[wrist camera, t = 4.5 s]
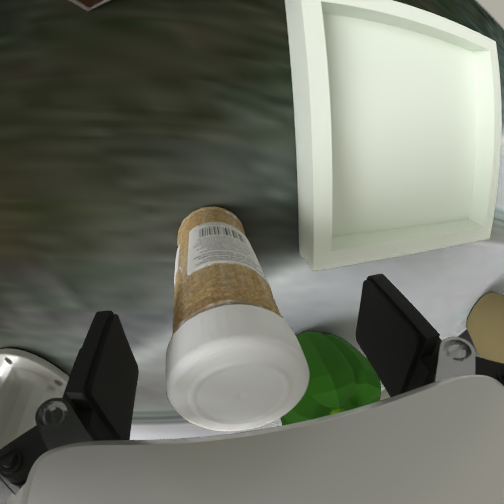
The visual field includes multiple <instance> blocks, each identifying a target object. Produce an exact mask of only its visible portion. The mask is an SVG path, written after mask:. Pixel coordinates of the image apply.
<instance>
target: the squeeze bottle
mask: <svg viewBox="0 0 504 504" xmlns="http://www.w3.org/2000/svg"><path fill="white" fill-rule="evenodd" d="M466 328H467V330H468V332H469V334H470V336H471V339H472V341H473V343H474V345H475V348H476V350H477V352H478V354H479V355H481V356H482V357H483V358H484V359H487V360H491V361H495V362H499V363H503V364H504V295H500V294H496V293H492V292H490V293H487V294H485V295H484V296H483V297H482V298H480V300H479V301H478V302H477V303H476V304H475V306H474V307H473V309H472V311H471V312H470V314H469V317H468V320H467V325H466Z"/></svg>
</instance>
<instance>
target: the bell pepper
mask: <svg viewBox="0 0 504 504" xmlns="http://www.w3.org/2000/svg"><path fill="white" fill-rule="evenodd" d="M296 337H297V340H298V342H299V344H300V346H301V349H302V351H303V353H304V356H305V358H306V361H307V364H308V367H309V383H308V387H307V389H306V391H305V393H304V395H303V397H302V398H301V400H300V401H299V402H298V403H297V405H296V406H295V407H294V408H293V409H291V410H290V411H289V412H288V413H286V414H285V415H284V416H282V417H280V418H281V422H282V425H288V424H293V423H298V422H303V421H307V420H312V419H316V418H320V417H324V416H328V415H332V414H336V413H340V412H344V411H347V410H351V409H355V408H358V407H361V406H365V405H368V404H371V403H375V402H378V401H380V395H381V384H380V378H379V377H378V375H377V373H376V372H375V370H374V368H373V367H372V365H371V363H370V362H369V360H368V359H367V358H366V357H365V356H363V355H362V354H361V353H360V352H359V351H358V350H357V349H356V348H354V347H353V346H352V345H351V344H349V343H348V342H347V341H345V340H344V339H343V338H340V337H337V336H335V335H331V334H324V335H323V334H322V333H319V332H302V333H300V334H298V335H296Z"/></svg>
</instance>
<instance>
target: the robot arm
mask: <svg viewBox="0 0 504 504" xmlns="http://www.w3.org/2000/svg"><path fill="white" fill-rule="evenodd" d="M439 336H440V334H439V333H438V332H437V331H436V330H435V329H434V328H433V327H432V325H431V324H430V323H429V322H428V321H427V320H426V319H425V318H424V317H423V316H422V315H421V313H420V312H419V311H418V310H417V309H416V308H415V307H414V306H413V305H412V304H411V303H410V302H409V301H408V300H407V298H406V297H405V296H404V295H403V294H402V293H401V292H400V291H399V290H398V289H397V288H396V287H395V286H394V285H393V284H392V283H391V282H390V281H389V280H388V279H387V278H386V277H385V276H384V275H383V274H377V275H371V276H368V277H367V280H365V281H364V282H363V288H362V296H361V303H360V310H359V316H358V322H357V329H356V340H357V342H358V344H359V345H360V347H361V349H362V350H363V352H364V354H365V355H366V357H367V359H368V360H369V362H370V363H371V365H372V367H373V368H374V370H375V372H376V373H377V375H378V377H379V378H380V380H381V382H382V383H383V385H384V387H385V388H386V390H387V392H388V393H389V395H390V398H387V399H384V400H381V401H378V402H375V403H371V404H368V405H365V406H361V407H358V408H355V409H351V410H347V411H344V412H340V413H336V414H332V415H328V416H324V417H320V418H316V419H312V420H307V421H303V422H298V423H293V424H288V425H283V426H278V427H272V428H267V429H260V430H254V431H247V432H240V433H233V434H225V435H216V436H206V437H194V438H180V439H158V440H129V439H130V430H131V422H132V414H133V407H134V400H135V393H136V386H137V380H138V366H137V363H136V361H135V358H134V356H133V353H132V351H131V348H130V346H129V343H128V341H127V338H126V336H125V333H124V330H123V328H122V325H121V322H120V320H119V317H118V315H117V314H113V312H112V311H101V312H97V313H96V314H95V317H94V319H93V322H92V324H91V326H90V329H89V331H88V334H87V336H86V339H85V341H84V344H83V346H82V348H81V349H80V350H79V353H78V355H77V358H76V361H75V363H74V366H73V369H72V371H71V374H70V377H69V376H68V375H66V374H65V373H64V372H63V371H61V370H60V369H59V368H57V367H56V366H54V365H53V364H51V363H49V362H48V361H46V360H44V359H42V358H40V357H38V356H36V355H34V354H31V353H29V352H26V351H22V350H18V349H8V348H6V349H0V504H504V364H503V363H499V362H495V361H491V360H487V359H484V358H480V357H476V356H475V350H474V348H473V346H472V345H471V344H470V343H469V342H468V341H466V340H464V339H463V338H459V337H448V338H446V339H444V340H443V341H442V340H441V339H440V338H439Z"/></svg>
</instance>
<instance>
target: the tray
mask: <svg viewBox="0 0 504 504" xmlns="http://www.w3.org/2000/svg"><path fill="white" fill-rule="evenodd" d="M285 7H286V17H287V27H288V37H289V48H290V60H291V72H292V86H293V100H294V117H295V135H296V156H297V182H298V220H299V253H300V254H301V256H302V257H303V258H304V260H305V261H306V262H307V264H308V265H309V266H310V268H311V269H312V270H313V271H318V270H324V269H330V268H336V267H342V266H348V265H354V264H360V263H365V262H371V261H377V260H382V259H388V258H393V257H399V256H404V255H410V254H415V253H420V252H426V251H431V250H436V249H441V248H446V247H451V246H456V245H461V244H466V243H471V242H476V241H481V240H486V239H490V234H491V229H492V223H493V217H494V211H495V205H496V197H497V189H498V180H499V170H500V156H501V128H502V115H501V88H500V74H499V64H498V56H497V48H496V42H495V41H493V40H491V39H489V38H487V37H486V36H484V35H482V34H479V33H477V32H475V31H473V30H471V29H469V28H467V27H465V26H462V25H460V24H458V23H455V22H453V21H451V20H448V19H446V18H443V17H441V16H438V15H435V14H433V13H430V12H427V11H424V10H421V9H419V8H416V7H413V6H409V5H406V4H403V3H400V2H396V1H393V0H285Z"/></svg>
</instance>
